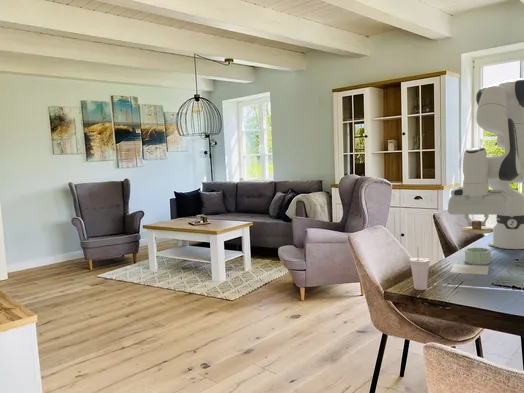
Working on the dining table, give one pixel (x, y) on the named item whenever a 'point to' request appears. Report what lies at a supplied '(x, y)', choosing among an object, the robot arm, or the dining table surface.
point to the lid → (476, 228)
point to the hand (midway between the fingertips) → (476, 226)
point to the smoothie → (420, 271)
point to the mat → (470, 269)
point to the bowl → (478, 255)
